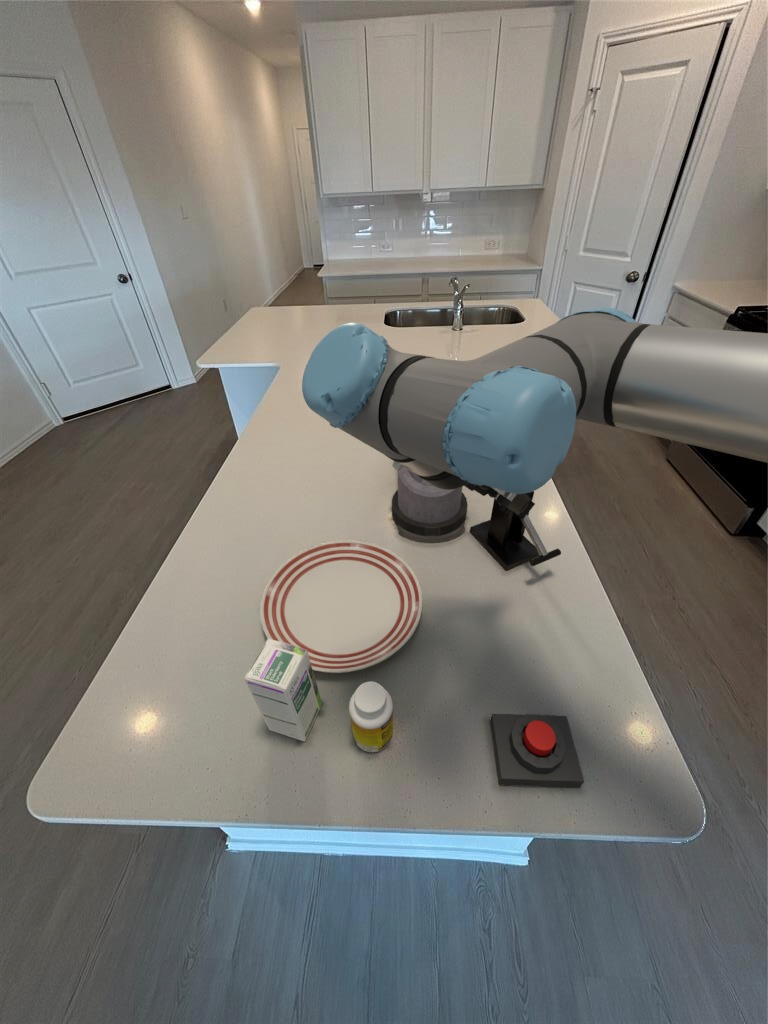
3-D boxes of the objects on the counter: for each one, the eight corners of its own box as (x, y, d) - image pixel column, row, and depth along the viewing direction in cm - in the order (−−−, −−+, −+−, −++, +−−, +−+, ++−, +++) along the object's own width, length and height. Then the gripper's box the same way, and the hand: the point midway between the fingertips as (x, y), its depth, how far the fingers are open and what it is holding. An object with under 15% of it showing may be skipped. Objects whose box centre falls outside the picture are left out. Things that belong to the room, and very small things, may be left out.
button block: (562, 722, 61) (569, 709, 58) (579, 787, 55) (588, 776, 52) (489, 720, 61) (493, 707, 59) (498, 785, 55) (503, 773, 53)
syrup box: (305, 743, 60) (287, 690, 50) (267, 730, 61) (242, 676, 52) (322, 704, 64) (309, 648, 54) (286, 692, 65) (266, 636, 56)
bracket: (539, 556, 84) (556, 501, 75) (505, 571, 82) (518, 515, 73) (501, 520, 93) (511, 466, 84) (469, 531, 90) (477, 477, 81)
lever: (556, 556, 78) (564, 552, 76) (529, 568, 76) (536, 564, 74) (520, 488, 82) (526, 482, 80) (493, 497, 80) (499, 492, 78)
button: (548, 726, 57) (551, 720, 56) (555, 756, 54) (559, 750, 53) (520, 725, 57) (523, 719, 56) (526, 755, 54) (529, 749, 53)
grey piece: (472, 542, 88) (488, 435, 72) (392, 544, 88) (390, 438, 72) (453, 458, 111) (462, 363, 95) (389, 460, 111) (387, 365, 95)
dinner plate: (445, 578, 81) (446, 566, 79) (378, 711, 63) (377, 700, 60) (319, 535, 91) (317, 523, 88) (229, 639, 72) (224, 628, 70)
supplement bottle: (386, 759, 58) (384, 725, 51) (347, 746, 59) (340, 711, 52) (398, 718, 62) (398, 682, 55) (361, 707, 63) (356, 670, 56)
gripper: (379, 446, 48) (476, 506, 66) (457, 508, 40) (544, 558, 58) (419, 388, 47) (507, 465, 65) (508, 439, 39) (581, 512, 56)
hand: (524, 508), depth 61 cm, fingers closed
